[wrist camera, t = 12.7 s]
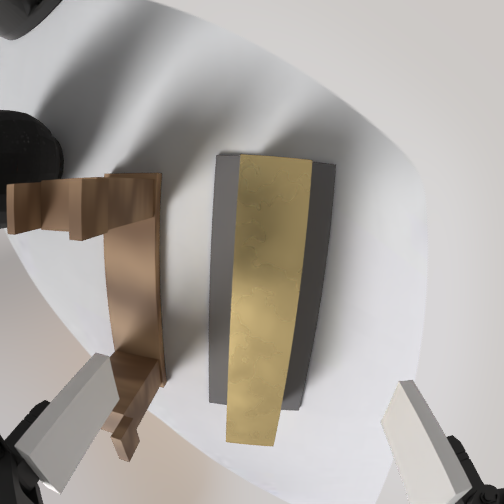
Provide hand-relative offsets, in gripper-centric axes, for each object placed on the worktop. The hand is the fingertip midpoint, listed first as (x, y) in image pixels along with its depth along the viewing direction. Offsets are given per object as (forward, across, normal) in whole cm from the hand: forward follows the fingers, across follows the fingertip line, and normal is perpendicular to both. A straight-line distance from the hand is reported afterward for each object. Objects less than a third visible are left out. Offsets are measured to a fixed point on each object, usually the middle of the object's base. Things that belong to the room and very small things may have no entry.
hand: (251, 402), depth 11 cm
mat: (+12, 0, -1) cm, 13 cm away
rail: (+12, 0, -1) cm, 12 cm away
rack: (+13, -11, -1) cm, 17 cm away
